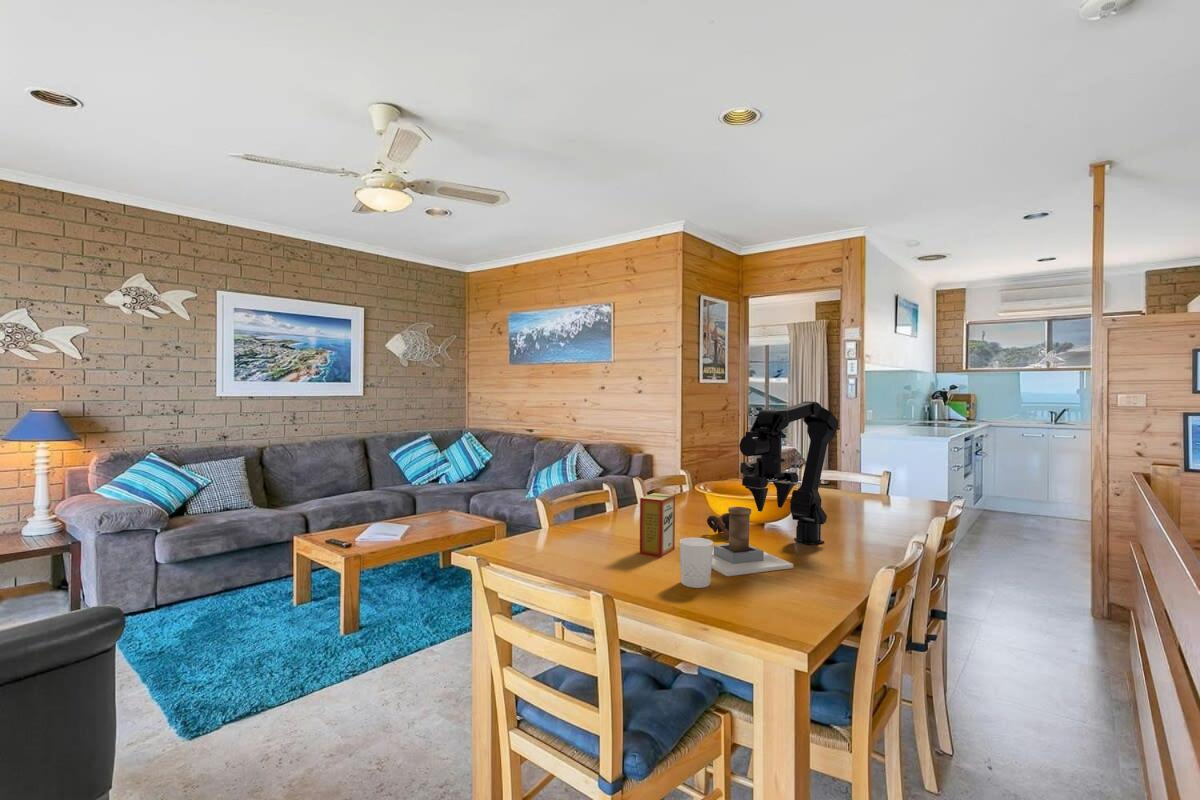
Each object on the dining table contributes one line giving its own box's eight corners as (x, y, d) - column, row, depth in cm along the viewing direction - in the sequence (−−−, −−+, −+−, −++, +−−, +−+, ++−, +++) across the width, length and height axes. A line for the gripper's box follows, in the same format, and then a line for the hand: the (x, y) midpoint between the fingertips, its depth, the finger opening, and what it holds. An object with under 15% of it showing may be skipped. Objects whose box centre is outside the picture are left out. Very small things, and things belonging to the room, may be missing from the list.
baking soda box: (661, 557, 164) (661, 499, 164) (639, 554, 167) (640, 496, 167) (674, 549, 172) (675, 493, 172) (653, 546, 176) (654, 491, 175)
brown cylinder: (749, 555, 163) (750, 507, 163) (750, 561, 157) (752, 511, 157) (726, 553, 164) (727, 506, 164) (727, 559, 158) (728, 510, 158)
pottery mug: (744, 535, 192) (749, 515, 188) (737, 554, 184) (742, 534, 180) (708, 522, 196) (712, 503, 192) (699, 540, 189) (703, 521, 184)
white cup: (689, 576, 148) (690, 535, 148) (718, 583, 143) (719, 541, 143) (672, 584, 142) (672, 542, 142) (701, 591, 137) (702, 547, 137)
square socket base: (747, 548, 174) (747, 536, 174) (793, 567, 155) (793, 554, 155) (686, 555, 166) (686, 542, 166) (727, 576, 148) (727, 562, 148)
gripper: (767, 450, 182) (766, 501, 182) (726, 453, 170) (726, 508, 171) (799, 453, 173) (798, 507, 174) (759, 457, 162) (758, 515, 162)
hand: (770, 509), depth 170 cm, fingers open, 9 cm apart
